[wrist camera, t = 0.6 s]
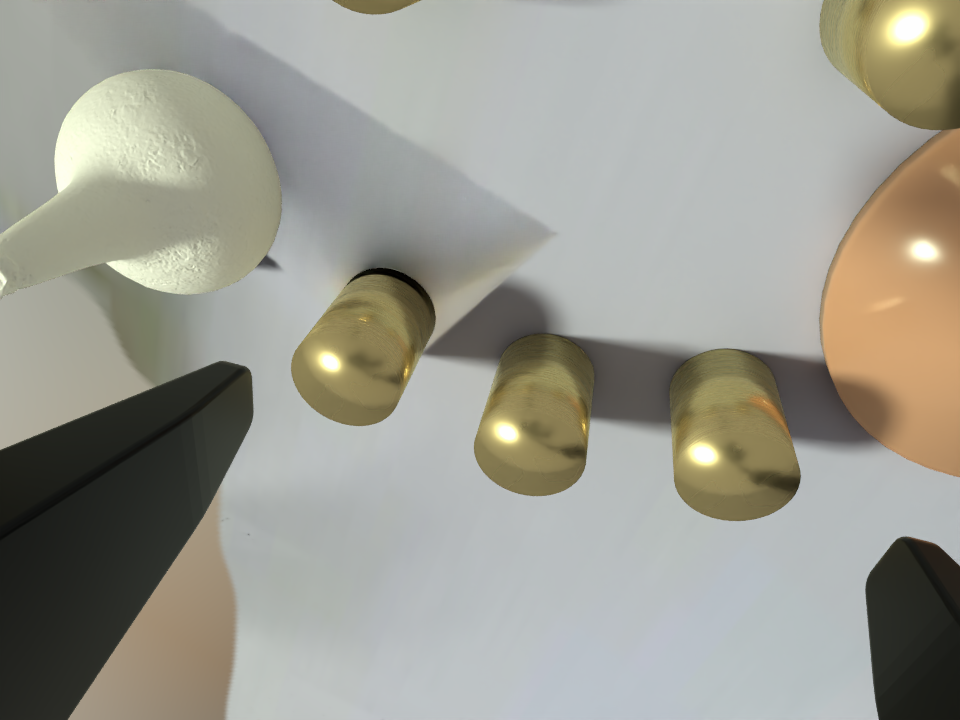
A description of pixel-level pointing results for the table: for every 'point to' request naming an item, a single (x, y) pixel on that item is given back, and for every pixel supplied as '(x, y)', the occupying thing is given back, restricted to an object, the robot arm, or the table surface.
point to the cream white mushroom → (152, 190)
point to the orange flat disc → (902, 309)
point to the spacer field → (565, 366)
